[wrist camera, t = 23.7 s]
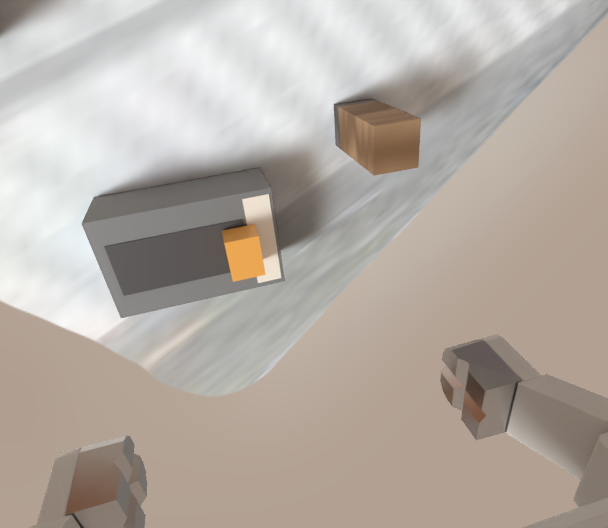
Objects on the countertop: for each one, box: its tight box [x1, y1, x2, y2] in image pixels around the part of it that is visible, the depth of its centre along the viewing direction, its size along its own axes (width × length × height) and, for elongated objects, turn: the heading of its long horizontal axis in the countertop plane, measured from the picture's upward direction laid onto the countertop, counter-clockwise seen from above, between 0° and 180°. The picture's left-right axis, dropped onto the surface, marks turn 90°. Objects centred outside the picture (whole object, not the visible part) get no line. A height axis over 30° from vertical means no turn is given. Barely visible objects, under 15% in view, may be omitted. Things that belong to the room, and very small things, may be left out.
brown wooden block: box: [334, 99, 421, 175], centre depth 39 cm, size 4×4×10 cm
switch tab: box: [222, 224, 266, 282], centre depth 38 cm, size 4×3×2 cm
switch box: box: [82, 168, 285, 318], centre depth 41 cm, size 10×16×6 cm, turn 96°
